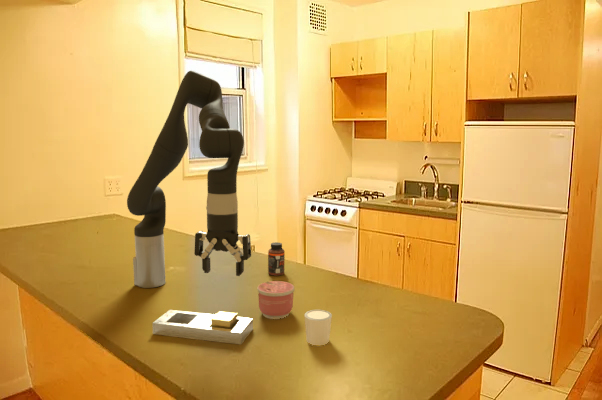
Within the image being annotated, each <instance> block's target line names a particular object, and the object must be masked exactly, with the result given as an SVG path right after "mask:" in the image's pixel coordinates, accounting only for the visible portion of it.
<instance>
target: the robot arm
mask: <svg viewBox="0 0 602 400" xmlns="http://www.w3.org/2000/svg"><path fill="white" fill-rule="evenodd" d="M223 101H224V100H223V92H222V88H221V85H220V83H219V82H218V81H217V80H215V79H213V78H211V77H209V76H206V75H204V74H202V73H199V72H196V71H195V70H188V71H187V73H185V74H184V76H183V78H182V80H181V82H180V85H179V87H178V89H177V93H176V95H175V98H174V100H173V104H172V106H171V108H170V112H169V114H168V116H167V118H166V120H165V122H164V124H163V127H162V128H161V131H160V132H159V134H158V135H157V138H156V140H155V142H154V145H153V147H152V150H151V152H150V154H149V156H148V158H147V160H146V161H145V164H144V166H143V168H142V171H141V173H140V174H139V176H138V177H137V179H136V180H135V182H134V184H133V185H132V187H131V189H130V191H129V193H128V195H127V199H126V205H127V206H126V207H127V210H128V211H129V213H131V215H134V216H137V217H138V216H143V218H142V220H140V221H139V223H137V224H136V225H135V227H134V229H133V233H134V248H135V249H134V250H135V256H134V257H133V258H132V264H133V283H134V286H137V287H139V288H144V289H150V288H157V287H161V286H163V285H165V284H166V264H165V263H166V262H165V261H166V260H165V255H166V254H165V237H164V236H165V235H164V230H165V226H166V215H167V212H166V211H167V203H166V202H167V201H166V195H165V193H164V191H163V189H162V188H161V187H160V186H159V184H160V183H162V181H163V180H165V178H167V177H168V176H169V175H170V174H171V173H172V172H173V171H174V170H176V169H177V167H178V166H179V164H180V163H181V162H182V159H184V158H183V157H184V156H185V154H186V151H187V149H188V147H189V138H188V133H187V132H188V131H187V129H186V123H185V111H186V108H187V105H192V106H195V107H196V108H200V112H199V114H198V123H199V126H200V128H201V133H200V137H199V145H198V146H199V150H200V153H201V154H202V155H203V156H205V158H208V159H227V160H226V162H225V164H223V165H221V166H218V167H213V168H210V169H209V170H208V171H207V177H206V178H207V180H206V181H207V183H206V185H207V196H206V206H205V208H206V228H207V232H204V231H203V230H200V231H197V232H195V234H194V256H197V257H200V258H201V261H202V262H201V263H202V264H201V266H202V268H201V269H202V271H204V272H203V273H205V274H208V273H210V272H211V256H210V255H211V254H212V252H213V251H216V252H220V251H222V252H226V253H227V252H229V253H230V255H231V256H233V257H234V259H235V260H236V262H235V275H236V277H240V276H241V275H242V274H243V273H244V270H245V261H247V260H248V259H250V258H251V257H252V245H251V242H252V241H251V234H249V233H246V234H245V235H243V234H242V235H241V234H239V232H238V230H239V223H238V222H239V217H238V216H239V214H238V213H239V210H238V208H239V207H238V206H239V205H238V204H239V202H238V194H237V193H238V192H237V189H238V187H237V186H238V185H237V184H238V183H237V181H238V180H237V179H238V177H237V176H238V168H239V166H240V165H239V163H240V160H241V158H242V154H243V150H244V145H245V140H244V136H243V133H241V131H240V130H238V129H237V128H231V127H230V124H229V123H230V122H229V121H228V118H227V116H226V114H225V111H224V102H223ZM205 240H207V242H208V243H209V244H208V245H207V246H206V248H205V249H204V241H205ZM238 241H239V242H240V244H241V245H242V250H241V248H240V246H239V245H238Z"/></svg>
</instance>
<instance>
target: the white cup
mask: <svg viewBox="0 0 602 400" xmlns="http://www.w3.org/2000/svg"><path fill="white" fill-rule="evenodd" d="M332 317H333V314H332V313H331V312H330V311H327V310H323V309H311V310H308V311H306V312H305V313H304V324H305V325H304V326H305V335H306V337H305V338H306V342H308V343H310V344H312V345H311V346H313V345H324V344H327V343H328V342H329V343H330V334H331V328H332V327H331V325H332ZM308 343H307V344H308ZM329 343H328V344H329ZM310 344H309V345H310ZM328 344H327V345H328ZM324 346H325V345H324Z"/></svg>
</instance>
